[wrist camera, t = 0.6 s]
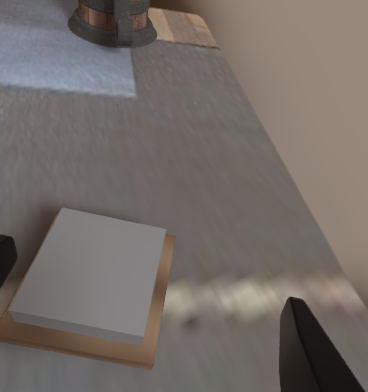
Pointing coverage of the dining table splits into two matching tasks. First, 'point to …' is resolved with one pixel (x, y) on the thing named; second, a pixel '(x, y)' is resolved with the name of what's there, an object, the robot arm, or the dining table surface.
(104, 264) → the tower top
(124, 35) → the tankard
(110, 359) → the tower base
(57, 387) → the dining table surface
